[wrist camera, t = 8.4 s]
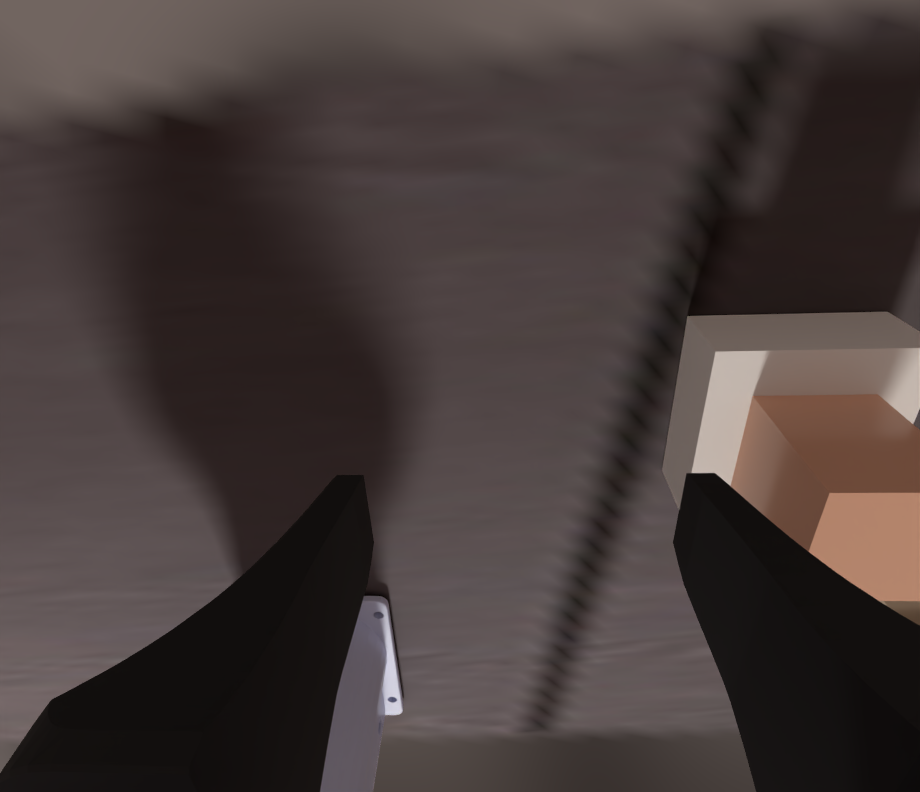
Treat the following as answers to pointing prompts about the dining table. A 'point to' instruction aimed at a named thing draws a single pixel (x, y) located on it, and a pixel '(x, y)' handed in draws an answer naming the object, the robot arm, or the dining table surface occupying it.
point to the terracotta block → (839, 484)
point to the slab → (778, 376)
